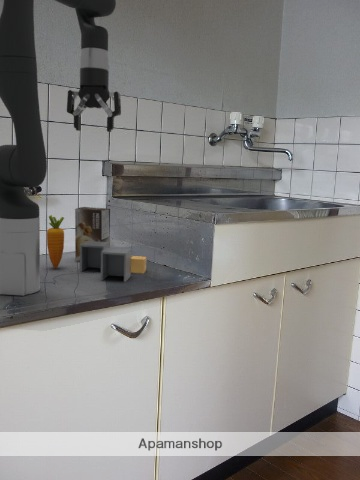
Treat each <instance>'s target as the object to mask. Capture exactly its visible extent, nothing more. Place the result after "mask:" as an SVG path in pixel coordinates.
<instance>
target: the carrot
mask: <svg viewBox="0 0 360 480" xmlns="http://www.w3.org/2000/svg"><path fill="white" fill-rule="evenodd" d="M48 219H49V221H50V222H48V224H49V225H50V226H51V227H49V228H48V229H47V230H46V245H47V253H48V256H49V261H50V263H51V265H52V267H53V268H54V269H57V268H58V266H60V263H61V261H62V259H63V255H64V254H63V253H64V247H65V231H64V229H62V228H61V227H60V225H62V223H63V221H64V219H65V218H64V216H61V217H60V219H57V218H56V217H55V216H53V215H52V214H50V215H49V216H48Z"/></svg>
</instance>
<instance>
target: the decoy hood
mask: <svg viewBox="0 0 360 480" xmlns="http://www.w3.org/2000/svg"><path fill="white" fill-rule="evenodd" d="M106 248H109V242H95V241H86V242H84V243H83V244H81V245H80V261H79V272H80V273H82V272H84V271H85V270H86V269H88V268H94V269H95V268H97V269H98V268H99V269H101V252H102V251H103V250H105V249H106Z"/></svg>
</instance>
